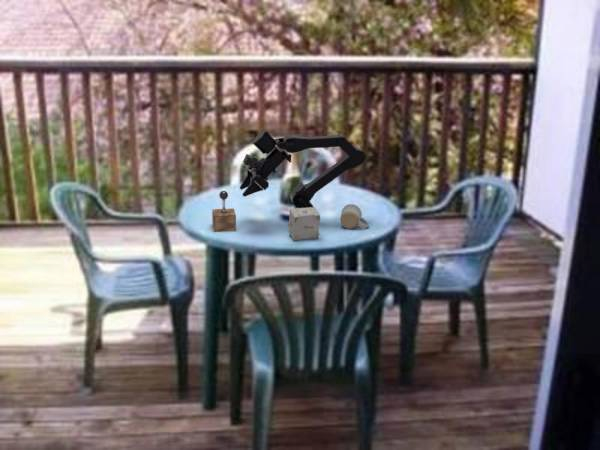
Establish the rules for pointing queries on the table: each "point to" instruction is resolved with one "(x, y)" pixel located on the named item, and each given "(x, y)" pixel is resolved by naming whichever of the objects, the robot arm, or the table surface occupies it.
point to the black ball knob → (223, 199)
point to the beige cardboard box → (304, 223)
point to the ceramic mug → (352, 217)
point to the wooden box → (224, 220)
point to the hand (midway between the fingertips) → (241, 192)
